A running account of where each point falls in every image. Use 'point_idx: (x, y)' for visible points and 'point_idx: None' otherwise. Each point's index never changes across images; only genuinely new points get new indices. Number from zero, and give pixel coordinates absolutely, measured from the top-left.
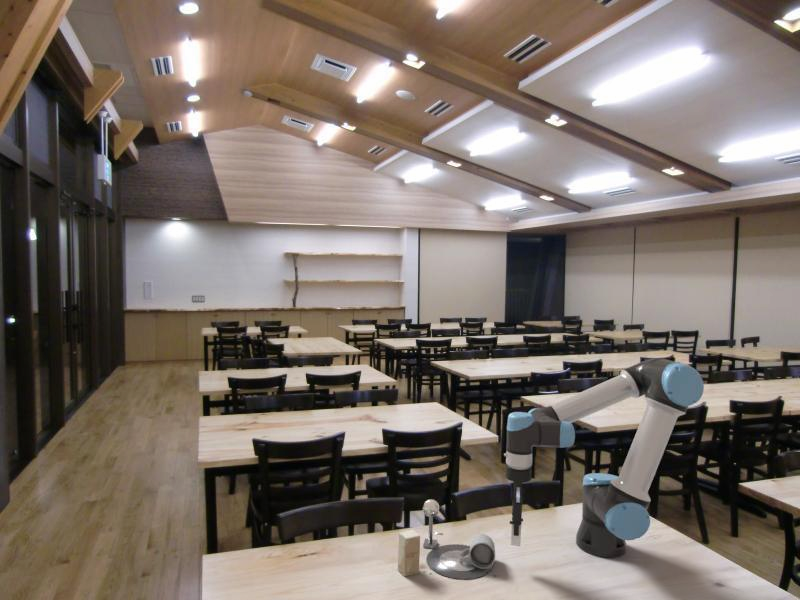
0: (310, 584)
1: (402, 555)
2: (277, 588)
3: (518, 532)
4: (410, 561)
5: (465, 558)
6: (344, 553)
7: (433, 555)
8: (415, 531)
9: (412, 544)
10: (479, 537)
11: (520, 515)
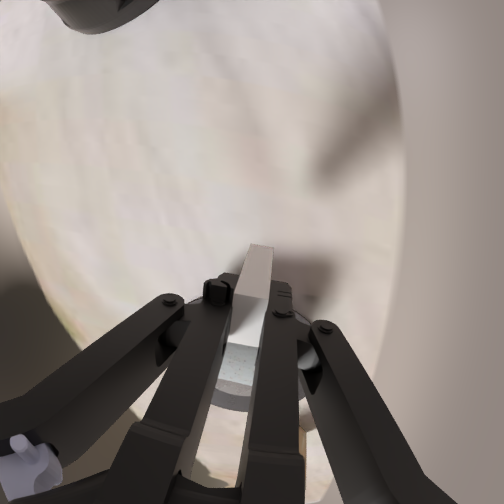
0: (314, 479)
1: None
2: (318, 488)
3: (290, 295)
4: (302, 448)
5: None
6: (237, 468)
7: (226, 402)
8: None
9: None
10: (227, 376)
11: (367, 388)
